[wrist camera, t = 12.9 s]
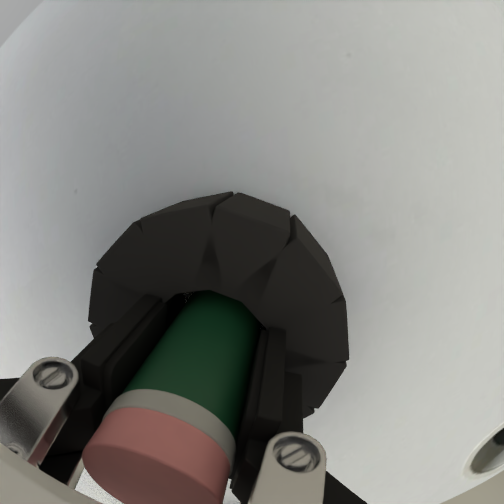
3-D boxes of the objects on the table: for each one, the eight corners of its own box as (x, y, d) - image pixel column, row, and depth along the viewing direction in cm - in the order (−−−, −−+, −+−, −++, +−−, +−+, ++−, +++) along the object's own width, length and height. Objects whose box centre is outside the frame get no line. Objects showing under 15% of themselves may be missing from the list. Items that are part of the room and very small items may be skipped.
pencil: (173, 305, 13) (59, 456, 5) (227, 262, 12) (126, 425, 4) (222, 357, 13) (161, 527, 5) (279, 319, 12) (257, 514, 4)
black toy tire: (102, 280, 14) (54, 314, 10) (238, 148, 12) (216, 141, 8) (224, 403, 16) (208, 459, 12) (371, 312, 13) (396, 364, 9)
